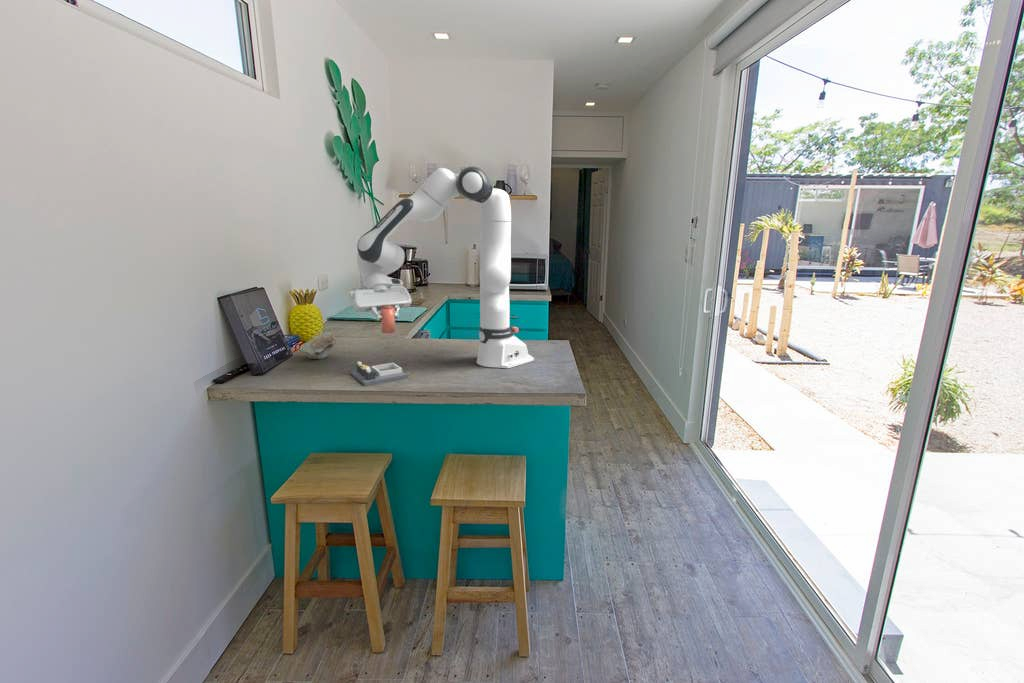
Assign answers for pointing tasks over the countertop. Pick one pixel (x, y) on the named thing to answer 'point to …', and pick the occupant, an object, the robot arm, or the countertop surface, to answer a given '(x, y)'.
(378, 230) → the robot arm
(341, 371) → the countertop surface
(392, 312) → the cap
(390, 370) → the panel
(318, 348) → the stone
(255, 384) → the countertop surface
